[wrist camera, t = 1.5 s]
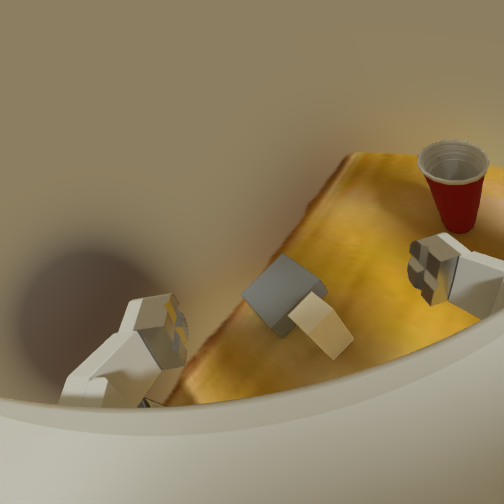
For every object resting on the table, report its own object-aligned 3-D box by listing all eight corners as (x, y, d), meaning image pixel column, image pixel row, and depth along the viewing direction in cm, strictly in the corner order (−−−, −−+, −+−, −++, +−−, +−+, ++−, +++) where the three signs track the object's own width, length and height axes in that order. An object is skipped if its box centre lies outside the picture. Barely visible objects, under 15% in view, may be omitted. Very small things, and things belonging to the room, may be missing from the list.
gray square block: (293, 266, 51) (282, 252, 49) (329, 293, 43) (319, 279, 41) (253, 306, 50) (240, 294, 48) (283, 339, 42) (270, 328, 40)
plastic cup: (499, 211, 31) (499, 147, 24) (469, 258, 31) (469, 193, 24) (449, 188, 40) (438, 129, 33) (417, 227, 40) (401, 167, 33)
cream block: (335, 323, 39) (311, 291, 33) (354, 339, 35) (333, 308, 30) (316, 343, 38) (287, 315, 33) (333, 360, 35) (307, 334, 30)
